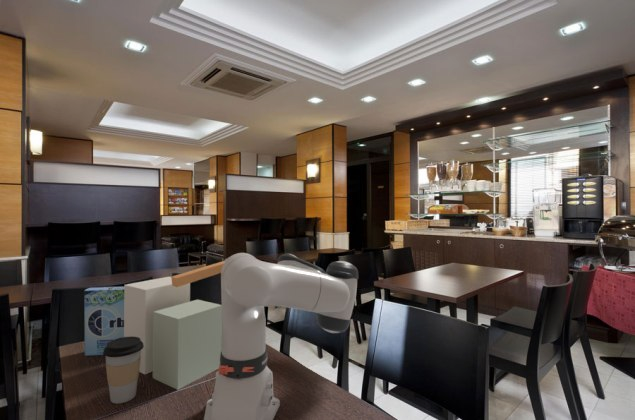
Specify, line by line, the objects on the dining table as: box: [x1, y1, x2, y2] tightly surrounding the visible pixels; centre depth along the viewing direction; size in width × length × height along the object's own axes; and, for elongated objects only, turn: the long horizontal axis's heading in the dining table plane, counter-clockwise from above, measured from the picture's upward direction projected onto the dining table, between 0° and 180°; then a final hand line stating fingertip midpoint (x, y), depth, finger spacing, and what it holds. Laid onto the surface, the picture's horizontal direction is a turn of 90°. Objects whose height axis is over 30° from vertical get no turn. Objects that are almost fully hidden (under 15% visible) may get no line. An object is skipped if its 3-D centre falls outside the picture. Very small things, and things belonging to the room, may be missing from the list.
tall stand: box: [124, 276, 191, 375], centre depth 111 cm, size 16×12×26 cm
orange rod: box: [170, 260, 225, 287], centre depth 117 cm, size 26×3×3 cm, turn 141°
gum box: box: [83, 286, 124, 356], centre depth 117 cm, size 20×5×23 cm, turn 98°
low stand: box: [152, 299, 222, 391], centre depth 103 cm, size 16×12×20 cm
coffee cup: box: [102, 337, 144, 405], centre depth 89 cm, size 9×9×15 cm
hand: (233, 259), depth 125 cm, fingers closed on orange rod, 3 cm apart
